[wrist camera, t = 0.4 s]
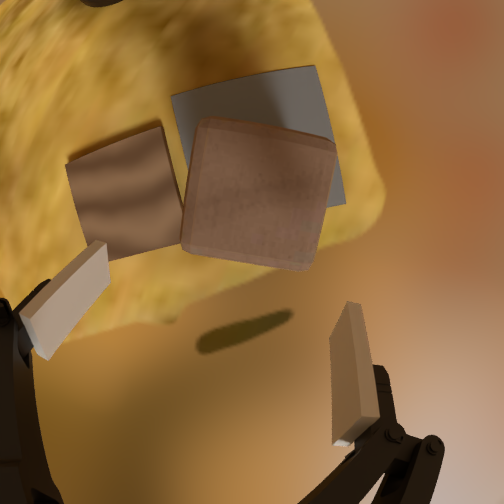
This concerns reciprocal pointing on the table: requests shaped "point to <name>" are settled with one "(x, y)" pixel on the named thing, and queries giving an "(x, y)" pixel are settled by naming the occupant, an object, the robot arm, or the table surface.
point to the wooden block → (256, 193)
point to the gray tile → (262, 109)
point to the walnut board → (128, 195)
